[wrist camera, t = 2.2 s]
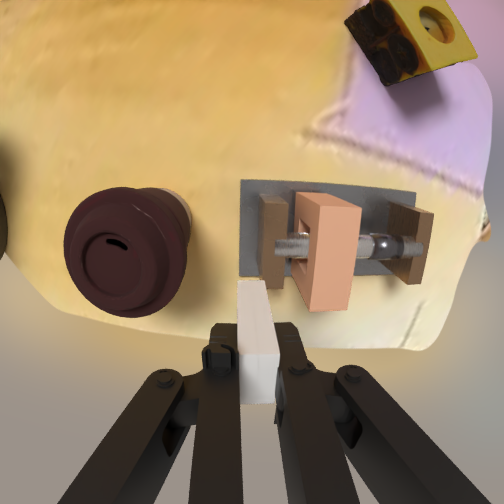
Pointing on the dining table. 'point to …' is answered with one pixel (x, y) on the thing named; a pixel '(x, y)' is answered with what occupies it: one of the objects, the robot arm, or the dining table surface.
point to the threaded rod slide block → (297, 244)
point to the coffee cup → (128, 249)
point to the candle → (409, 37)
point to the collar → (326, 250)
